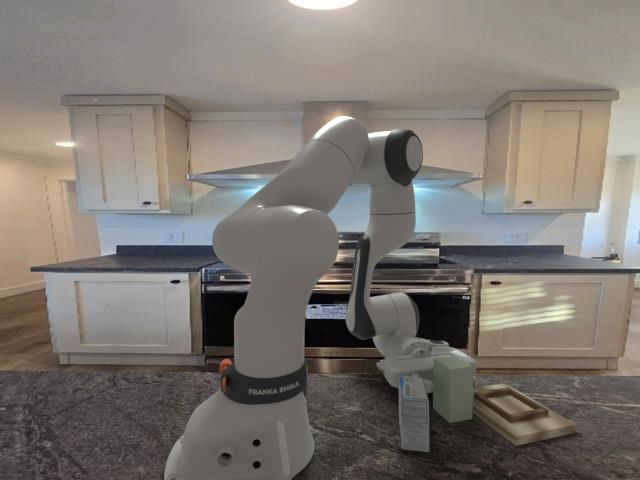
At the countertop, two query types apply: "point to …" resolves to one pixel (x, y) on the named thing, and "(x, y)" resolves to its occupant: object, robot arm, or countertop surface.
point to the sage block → (453, 388)
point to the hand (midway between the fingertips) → (453, 386)
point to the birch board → (518, 415)
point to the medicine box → (413, 414)
